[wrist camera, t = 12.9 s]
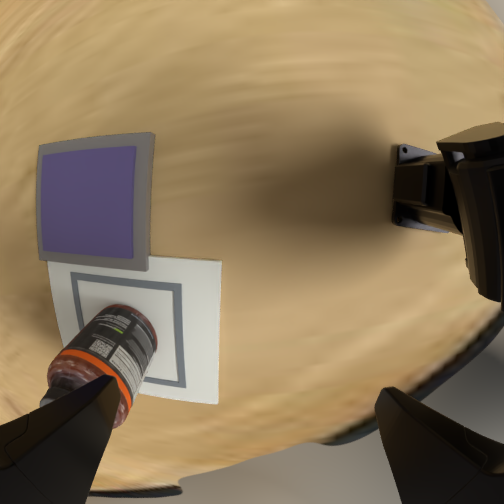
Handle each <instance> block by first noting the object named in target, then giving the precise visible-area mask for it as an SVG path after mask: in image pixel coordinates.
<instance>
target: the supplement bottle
mask: <svg viewBox="0 0 504 504" xmlns="http://www.w3.org/2000/svg"><path fill="white" fill-rule="evenodd" d="M157 345H158V340H157V335H156V332H155V330H154V328H153V326H152V324H151V322H150V321H149V320H148V319H147V318H146V317H145V316H144V315H143V314H142V313H140V312H139V311H138V310H136V309H134V308H132V307H130V306H126V305H121V304H115V305H110V306H107V307H105V308H104V309H103V310H101V311H100V312H99V313H98V314H97V315H96V316H95V317H94V318H93V319H92V320H91V321H90V322H89V323H88V324H87V325H86V326H85V327H84V328H83V329H82V330H81V331H80V332H79V333H78V334H77V335H76V336H75V337H74V338H73V339H72V340H71V341H70V342H69V343H68V345H66V346H65V348H64V349H63V350H62V351H61V352H60V353H59V354H58V355H57V356H56V357H55V359H54V360H53V361H52V363H51V364H50V366H49V368H48V373H47V380H48V386H49V389H48V390H47V392H46V394H45V396H44V397H43V398H42V399H41V401H40V407H42V406H44V405H46V404H48V403H50V402H52V401H54V400H56V399H58V398H60V397H62V396H64V395H66V394H68V393H69V392H71V391H73V390H75V389H77V388H79V387H81V386H83V385H85V384H87V383H88V382H90V381H92V380H94V379H96V378H98V377H100V376H101V375H104V374H107V375H111V376H114V377H116V379H117V382H118V386H119V390H120V394H121V399H120V403H119V407H118V410H117V414H116V417H115V421H114V425H113V428H112V429H114V428H117V427H118V426H120V425H121V424H122V423H123V422H124V421H125V419H126V417H127V415H128V413H129V411H130V408H131V407H132V405H133V403H134V400H135V398H136V396H137V393H138V391H139V389H140V387H141V385H142V382H143V380H144V378H145V376H146V374H147V373H148V372H147V371H148V369H149V367H150V365H151V363H152V361H153V358H154V355H155V353H156V350H157Z"/></svg>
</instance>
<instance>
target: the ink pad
mask: <svg viewBox="0 0 504 504" xmlns="http://www.w3.org/2000/svg"><path fill="white" fill-rule="evenodd" d="M154 143H155V134H153V133H151V132H146V133H130V134H117V135H106V136H97V137H88V138H80V139H73V140H67V141H60V142H54V143H49V144H43V145H39V152H38V164H37V184H36V217H37V237H38V249H39V259H40V260H43V261H51V262H59V263H67V264H76V265H85V266H94V267H103V268H112V269H122V270H132V271H143V272H147V271H148V270H149V256H150V209H151V184H152V167H153V154H154Z"/></svg>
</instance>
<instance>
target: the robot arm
mask: <svg viewBox="0 0 504 504" xmlns="http://www.w3.org/2000/svg"><path fill="white" fill-rule="evenodd" d="M436 143H437V146H438V149H439V150H441V153H442V154H436V153H433V152H430V151H427V150H423V149H420V148H417V147H413V146H410V145H407V144H401V145H399V146H398V148H397V166H396V167H395V179H394V191H393V199H394V204H393V213H392V222H393V224H394V225H397V226H402V227H410V228H417V229H424V230H431V231H437V232H444V233H449V232H452V233H455V234H459V235H462V236H463V239H464V245H465V251H466V259H465V260H466V267H467V268H468V269H469V274H470V279H471V281H472V282H473V283H474V285H475V286H476V287H477V288H478V293H479V294H480V295H482V296H484V297H485V298H487V299H489V300H492V301H496V302H501V310H502V311H504V123H501V122H494V123H489V124H484V125H480V126H475V127H472V128H470V129H467V130H465V131H462V132H460V133H457V134H455V135H452V136H450V137H447V138H445V139H442V140H440V141H437V142H436ZM403 148H404V149H405V153H403V151H402V149H403ZM398 217H399V218H400V220H399V221H398V222H397V218H398ZM120 399H121V394H120V390H119V386H118V382H117V379H116V377H114V376H111V375H107V374H104V375H101V376H100V377H98V378H96V379H94V380H92V381H90V382H88V383H87V384H85V385H83V386H81V387H79V388H77V389H75V390H73V391H71V392H69V393H68V394H66V395H64V396H62V397H60V398H58V399H56V400H54V401H52V402H50V403H48V404H46V405H44V406H42V407H40V408H38V409H36V410H34V411H32V412H30V413H29V414H26V415H24V416H22V417H19V418H17V419H15V420H13V421H10V422H8V423H5V424H3V425H0V504H85V502H86V499H87V497H88V494H89V491H90V488H91V485H92V482H93V480H94V477H95V474H96V471H97V469H98V466H99V463H100V461H101V458H102V456H103V453H104V451H105V448H106V446H107V443H108V441H109V438H110V435H111V432H112V428H113V425H114V421H115V417H116V414H117V410H118V407H119V403H120ZM375 414H376V418H377V422H378V426H379V431H380V435H381V439H382V443H383V446H384V449H385V452H386V455H387V458H388V461H389V464H390V467H391V470H392V473H393V476H394V479H395V482H396V486H397V489H398V492H399V495H400V499H401V502H402V504H504V444H502V443H500V442H497V441H494V440H492V439H489V438H487V437H485V436H482V435H480V434H478V433H476V432H474V431H472V430H470V429H468V428H466V427H464V426H463V425H461V424H459V423H457V422H455V421H453V420H451V419H450V418H448V417H446V416H444V415H442V414H440V413H439V412H437V411H435V410H433V409H431V408H430V407H428V406H426V405H424V404H423V403H421V402H419V401H417V400H416V399H414V398H412V397H411V396H409V395H407V394H405V393H404V392H402V391H400V390H399V389H397V388H395V387H385V388H383V389H382V390H381V392H380V394H379V396H378V399H377V401H376V403H375Z"/></svg>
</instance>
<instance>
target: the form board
mask: <svg viewBox="0 0 504 504" xmlns="http://www.w3.org/2000/svg"><path fill="white" fill-rule="evenodd" d="M47 263H48V271H49V279H50V285H51V292H52V297H53V303H54V308H55V313H56V318H57V322H58V327H59V331H60V335H61V339H62V343H63V346H64V348H65V346H66V345H68V343H69V342H70V341H71V340H72V339H73V338H74V337H75V336H76V335H77V334H78V333H79V332H80V331H81V330H82V329H83V328H84V327H85V326H86V325H87V324H88V323H89V322H90V321H91V320H92V319H93V318H94V317H95V316H96V315H97V314H98V313H99V312H100V311H101V310H103V309H104V308H105V307H107V306H110V305H115V304H121V305H126V306H130V307H132V308H134V309H136V310H138V311H139V312H140V313H142V314H143V315H144V316H145V317H146V318H147V319H148V320H149V321H150V322H151V324H152V326H153V328H154V330H155V332H156V335H157V340H158V345H157V350H156V353H155V355H154V358H153V361H152V363H151V365H150V367H149V369H148V371H147V372H148V373H147V374H146V376H145V378H144V380H143V382H142V385H141V387H140V389H139V391H138V393H140V394H145V395H151V396H156V397H162V398H168V399H175V400H182V401H190V402H198V403H208V404H218V377H219V327H220V296H221V272H222V260H209V259H195V258H181V257H167V256H154V255H150V256H149V270H148V271H147V272H143V271H132V270H122V269H112V268H103V267H94V266H85V265H76V264H67V263H59V262H51V261H47Z"/></svg>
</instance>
